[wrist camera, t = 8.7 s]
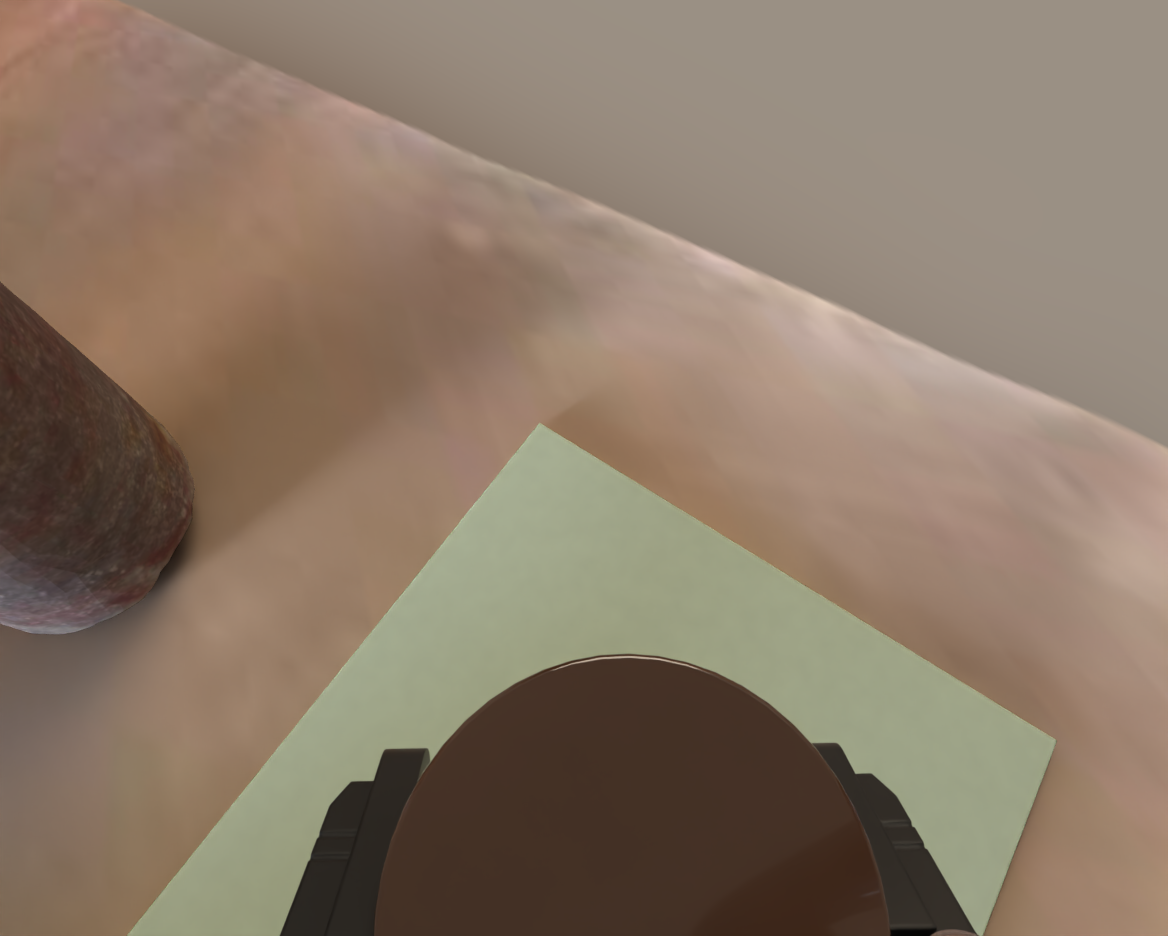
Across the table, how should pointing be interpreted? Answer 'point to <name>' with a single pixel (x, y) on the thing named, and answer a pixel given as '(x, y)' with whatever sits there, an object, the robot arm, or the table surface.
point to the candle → (78, 484)
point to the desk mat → (614, 626)
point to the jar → (629, 816)
